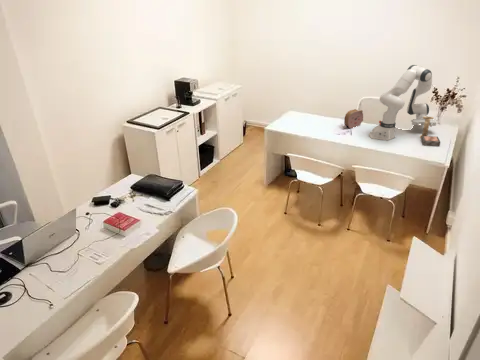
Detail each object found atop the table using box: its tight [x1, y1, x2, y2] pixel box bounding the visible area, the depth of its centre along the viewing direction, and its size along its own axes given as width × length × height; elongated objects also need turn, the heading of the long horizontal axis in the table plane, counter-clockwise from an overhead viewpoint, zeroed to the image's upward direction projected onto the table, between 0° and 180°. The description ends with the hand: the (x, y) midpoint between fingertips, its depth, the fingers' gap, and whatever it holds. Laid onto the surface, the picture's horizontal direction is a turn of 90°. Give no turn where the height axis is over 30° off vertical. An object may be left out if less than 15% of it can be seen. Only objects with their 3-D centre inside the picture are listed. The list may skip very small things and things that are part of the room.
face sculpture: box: [343, 108, 364, 129], centre depth 352 cm, size 20×7×17 cm, turn 119°
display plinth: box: [420, 135, 441, 147], centre depth 311 cm, size 13×12×4 cm
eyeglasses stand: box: [419, 116, 434, 139], centre depth 318 cm, size 8×7×20 cm
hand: (425, 125), depth 321 cm, fingers open, 8 cm apart
